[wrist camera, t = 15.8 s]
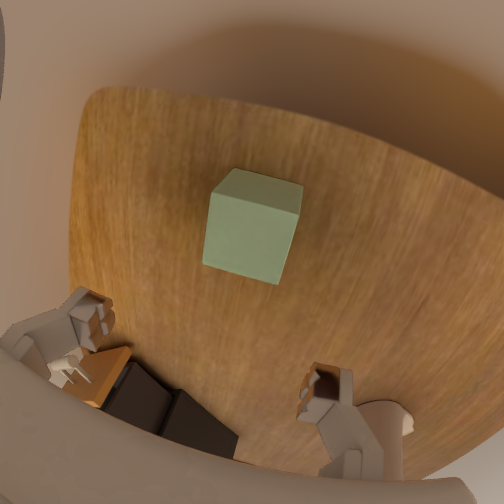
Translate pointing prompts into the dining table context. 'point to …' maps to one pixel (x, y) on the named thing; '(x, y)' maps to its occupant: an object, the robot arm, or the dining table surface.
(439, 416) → the dining table surface
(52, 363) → the drawer
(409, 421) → the candle
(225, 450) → the cabinet
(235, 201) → the block
